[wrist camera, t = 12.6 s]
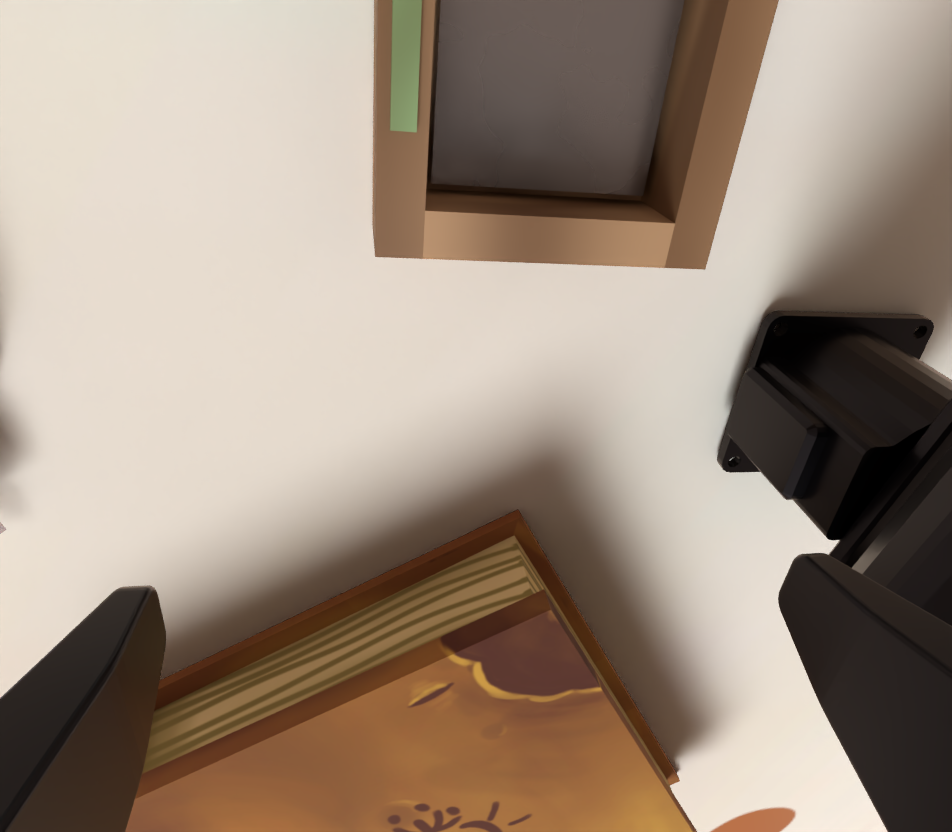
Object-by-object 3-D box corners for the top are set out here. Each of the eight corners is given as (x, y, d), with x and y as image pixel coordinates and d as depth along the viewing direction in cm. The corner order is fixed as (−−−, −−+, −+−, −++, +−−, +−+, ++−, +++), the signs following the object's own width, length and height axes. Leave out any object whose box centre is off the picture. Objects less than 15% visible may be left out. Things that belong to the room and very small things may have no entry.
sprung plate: (684, -62, 16) (698, -66, 16) (633, 189, 19) (643, 196, 19) (442, -95, 15) (445, -100, 14) (428, 177, 18) (431, 183, 18)
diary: (123, 686, 28) (74, 825, 23) (514, 498, 26) (550, 608, 21) (391, 884, 40) (395, 1003, 35) (673, 766, 38) (719, 875, 33)
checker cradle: (747, -128, 16) (826, -156, 13) (662, 237, 21) (708, 271, 18) (376, -186, 15) (380, -231, 12) (372, 224, 19) (375, 259, 16)
